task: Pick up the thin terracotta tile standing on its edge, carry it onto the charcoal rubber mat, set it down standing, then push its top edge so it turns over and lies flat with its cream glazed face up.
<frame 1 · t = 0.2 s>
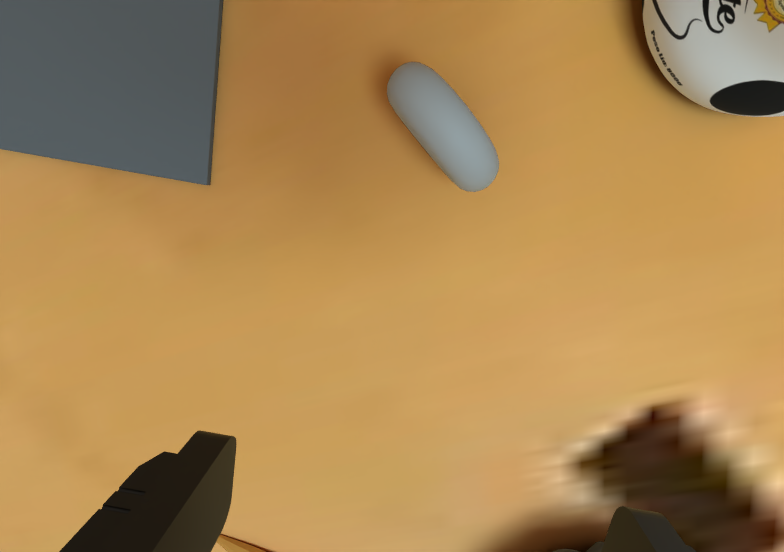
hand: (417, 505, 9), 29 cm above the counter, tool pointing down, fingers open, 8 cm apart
donut: (438, 135, 35), on the counter
mat: (106, 36, 35), on the counter
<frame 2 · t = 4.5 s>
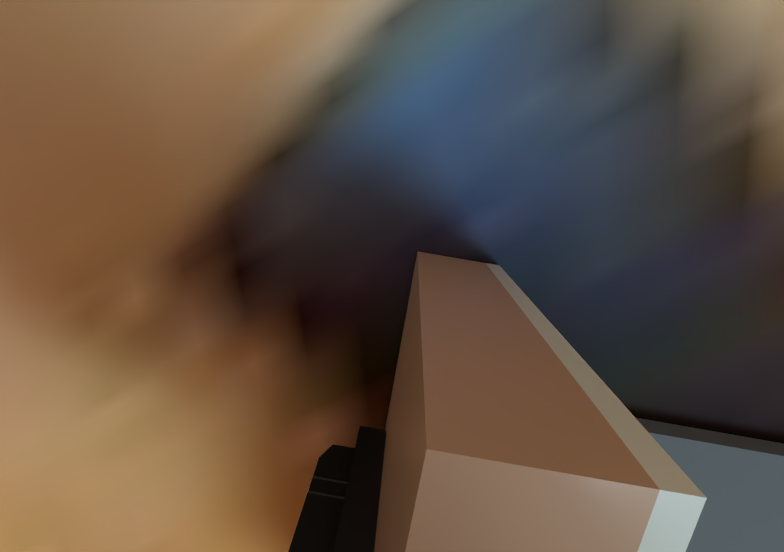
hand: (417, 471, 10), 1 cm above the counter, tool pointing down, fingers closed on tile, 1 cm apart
tile: (417, 456, 11), on the counter, touching gripper
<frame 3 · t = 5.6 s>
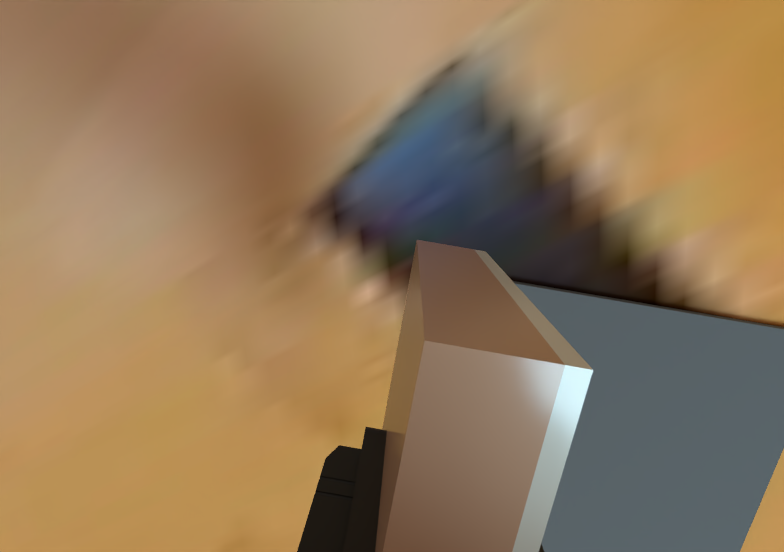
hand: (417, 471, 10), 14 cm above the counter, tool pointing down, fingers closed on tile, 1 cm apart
mat: (604, 464, 26), on the counter
tile: (416, 416, 13), point 12 cm above the counter, touching gripper
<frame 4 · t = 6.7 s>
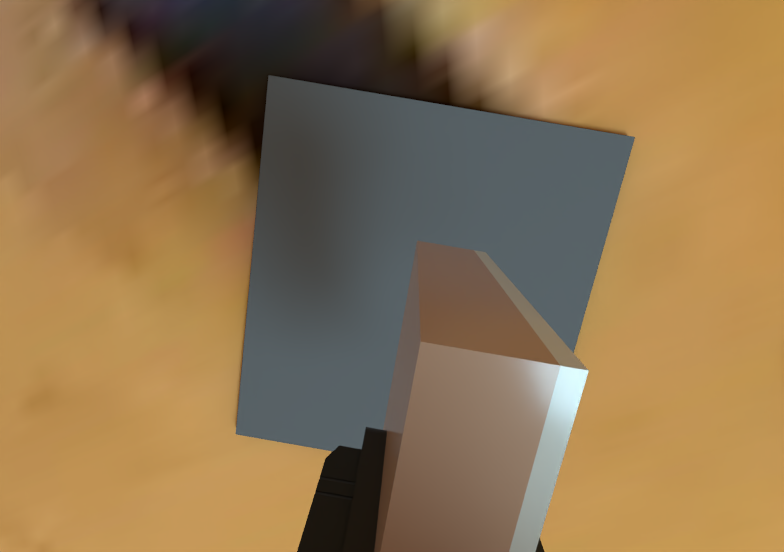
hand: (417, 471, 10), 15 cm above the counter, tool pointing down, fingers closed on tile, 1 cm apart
mat: (414, 297, 24), on the counter
tile: (417, 416, 13), point 12 cm above the counter, touching gripper
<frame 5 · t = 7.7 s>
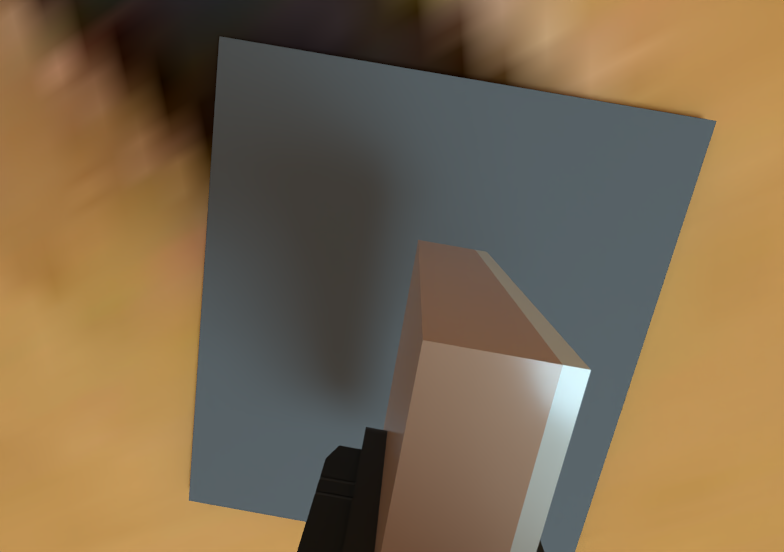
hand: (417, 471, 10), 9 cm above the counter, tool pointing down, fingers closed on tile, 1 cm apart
mat: (416, 331, 19), on the counter
tile: (417, 415, 13), point 6 cm above the counter, touching gripper
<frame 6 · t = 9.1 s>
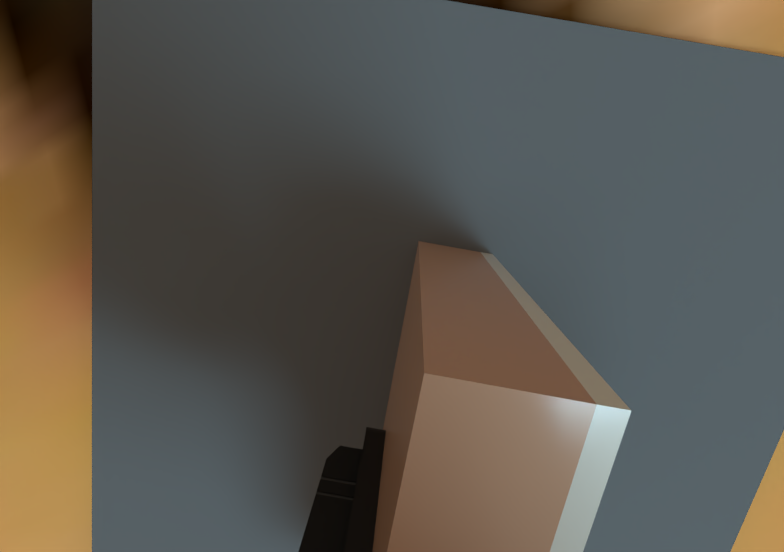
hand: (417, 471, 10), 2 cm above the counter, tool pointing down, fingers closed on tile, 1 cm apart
mat: (422, 413, 12), on the counter
tile: (417, 429, 12), point 1 cm above the counter, touching gripper
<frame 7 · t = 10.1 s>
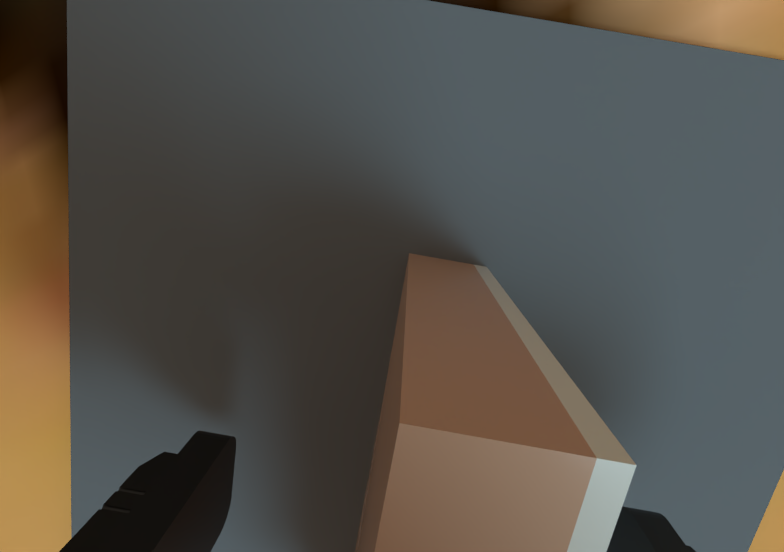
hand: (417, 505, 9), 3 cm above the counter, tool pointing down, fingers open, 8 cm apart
mat: (416, 431, 12), on the counter
tile: (409, 449, 11), point 1 cm above the counter, touching mat
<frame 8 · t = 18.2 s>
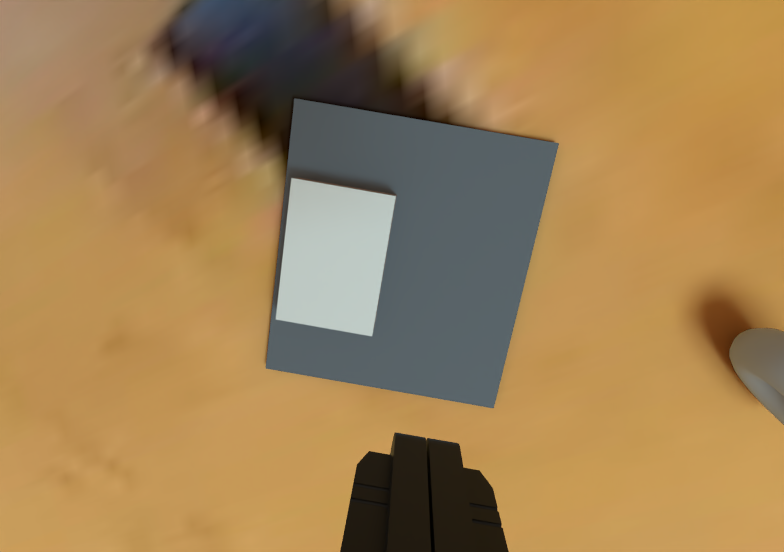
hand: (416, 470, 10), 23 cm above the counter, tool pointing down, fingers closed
donut: (747, 361, 33), on the counter
mat: (401, 262, 33), on the counter
tile: (384, 266, 31), point 1 cm above the counter, tilted 90°, touching mat
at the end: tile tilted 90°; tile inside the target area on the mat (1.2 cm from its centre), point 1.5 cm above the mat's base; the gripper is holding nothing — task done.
